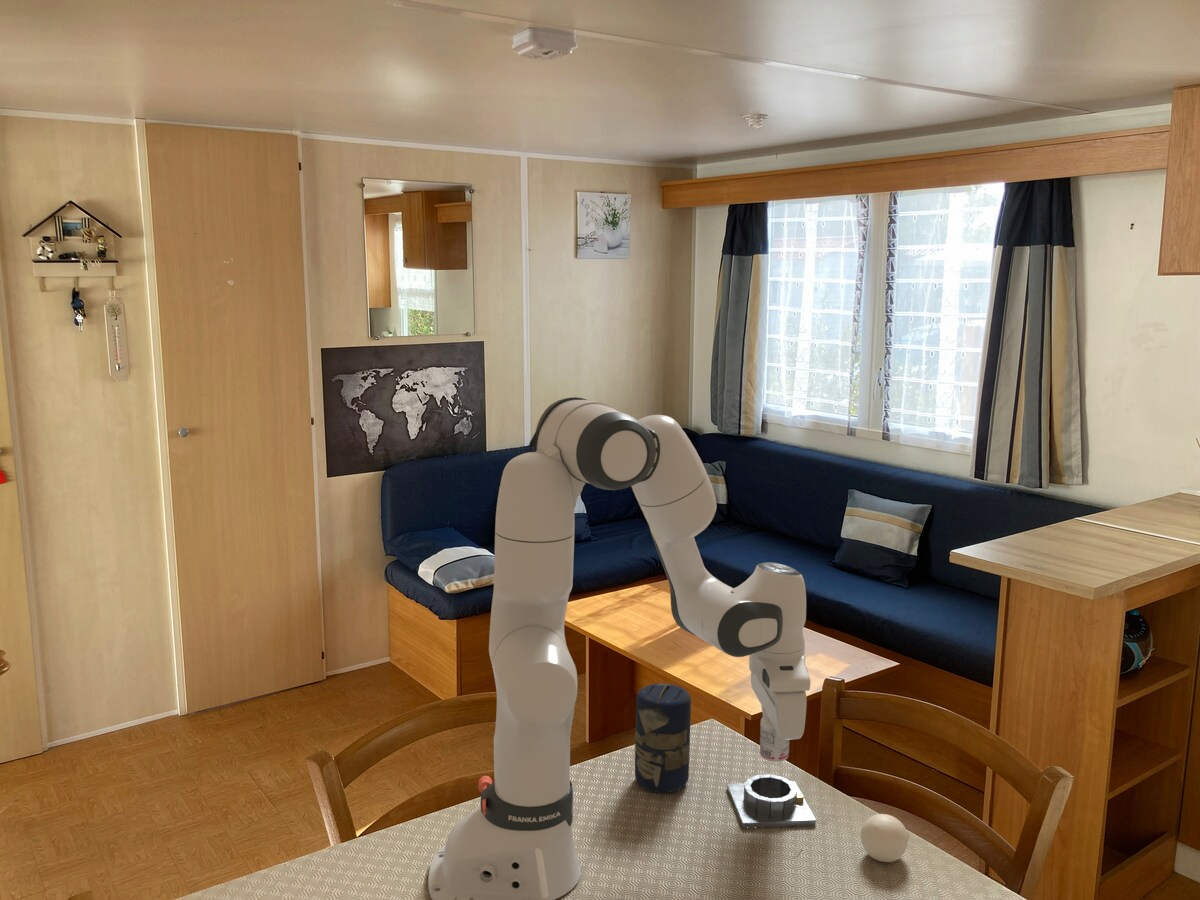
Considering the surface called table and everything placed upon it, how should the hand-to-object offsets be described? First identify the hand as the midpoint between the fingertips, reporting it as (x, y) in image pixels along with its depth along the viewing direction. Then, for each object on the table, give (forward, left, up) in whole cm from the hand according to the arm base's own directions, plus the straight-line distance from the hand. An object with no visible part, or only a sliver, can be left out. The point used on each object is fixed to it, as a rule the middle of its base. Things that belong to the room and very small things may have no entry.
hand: (774, 738), depth 160 cm
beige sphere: (+14, -15, -13) cm, 24 cm away
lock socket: (0, 0, -12) cm, 12 cm away
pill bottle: (0, 0, -3) cm, 3 cm away
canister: (-17, +9, -13) cm, 23 cm away
